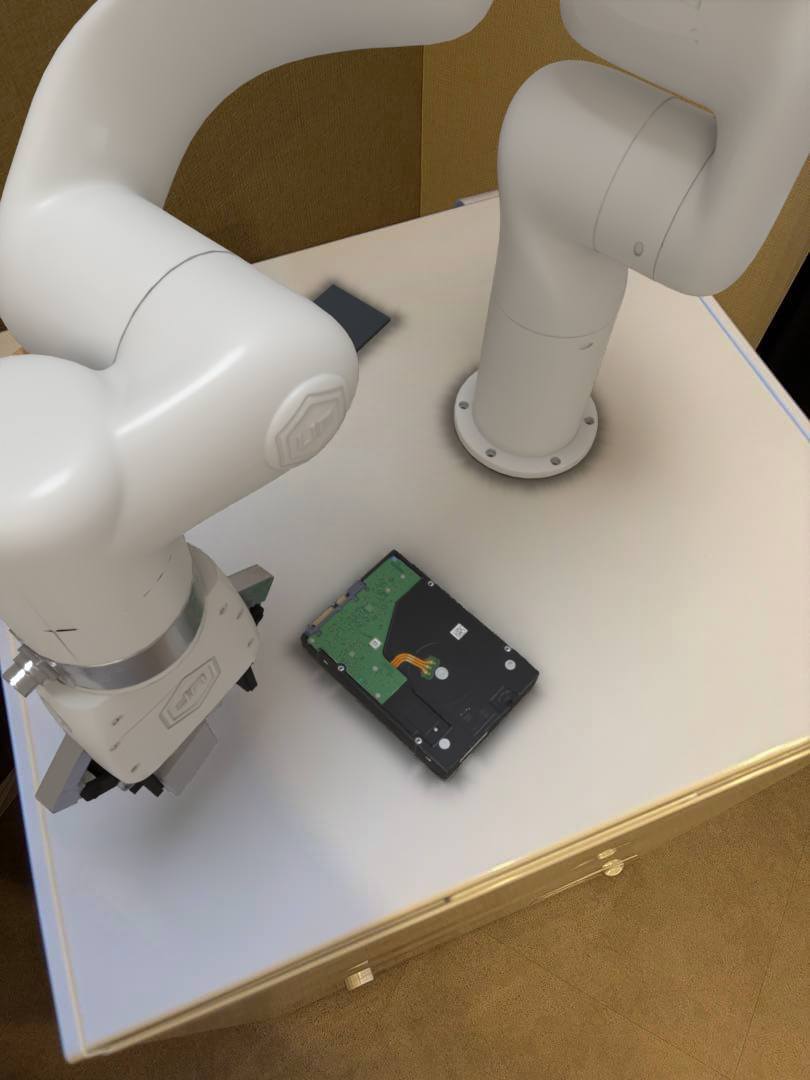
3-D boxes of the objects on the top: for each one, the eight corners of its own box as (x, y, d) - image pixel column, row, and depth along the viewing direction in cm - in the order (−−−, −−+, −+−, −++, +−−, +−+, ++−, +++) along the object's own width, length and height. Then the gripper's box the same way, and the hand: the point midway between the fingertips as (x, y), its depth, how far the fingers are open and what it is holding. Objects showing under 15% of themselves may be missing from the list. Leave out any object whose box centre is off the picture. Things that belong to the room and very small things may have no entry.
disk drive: (536, 683, 66) (392, 562, 71) (543, 670, 64) (393, 544, 69) (445, 785, 62) (298, 649, 67) (448, 774, 60) (295, 634, 64)
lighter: (178, 797, 54) (147, 763, 47) (155, 782, 55) (122, 746, 48) (246, 702, 57) (227, 656, 50) (225, 688, 58) (203, 641, 51)
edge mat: (333, 286, 86) (333, 283, 86) (390, 320, 84) (390, 317, 84) (278, 334, 83) (278, 331, 82) (336, 371, 81) (336, 368, 80)
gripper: (11, 821, 33) (129, 888, 49) (312, 507, 40) (331, 653, 56) (-116, 703, 35) (36, 803, 51) (190, 424, 42) (242, 587, 58)
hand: (190, 724), depth 53 cm, fingers closed on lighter, 7 cm apart
